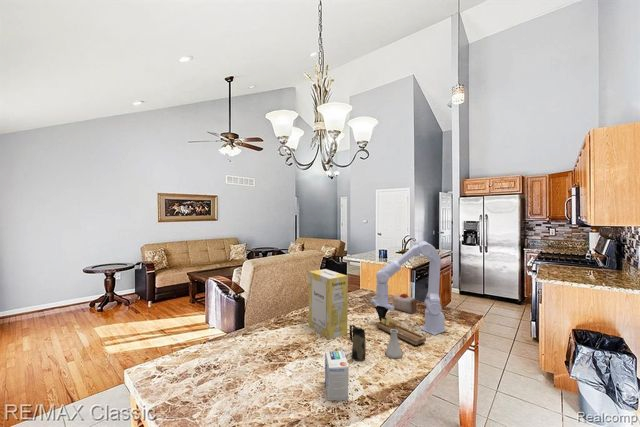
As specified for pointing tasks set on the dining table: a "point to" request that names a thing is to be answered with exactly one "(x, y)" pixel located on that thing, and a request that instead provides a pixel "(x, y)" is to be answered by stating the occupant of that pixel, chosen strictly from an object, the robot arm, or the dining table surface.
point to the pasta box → (328, 302)
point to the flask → (393, 346)
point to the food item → (405, 303)
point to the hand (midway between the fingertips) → (381, 320)
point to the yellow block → (388, 322)
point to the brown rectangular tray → (404, 334)
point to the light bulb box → (336, 375)
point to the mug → (358, 343)
